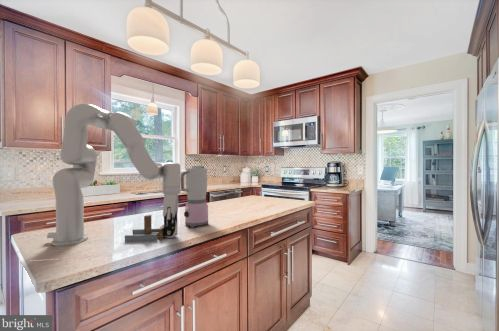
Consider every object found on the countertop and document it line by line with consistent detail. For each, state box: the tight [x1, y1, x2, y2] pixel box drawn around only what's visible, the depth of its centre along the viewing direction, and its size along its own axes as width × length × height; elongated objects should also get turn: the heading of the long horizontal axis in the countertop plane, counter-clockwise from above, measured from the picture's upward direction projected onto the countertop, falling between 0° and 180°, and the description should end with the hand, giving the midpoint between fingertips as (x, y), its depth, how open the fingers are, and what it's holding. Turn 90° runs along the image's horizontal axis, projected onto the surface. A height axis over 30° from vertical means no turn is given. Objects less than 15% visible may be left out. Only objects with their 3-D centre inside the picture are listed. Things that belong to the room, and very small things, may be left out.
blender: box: [180, 165, 209, 229], centre depth 127 cm, size 16×12×32 cm
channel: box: [124, 228, 159, 243], centre depth 105 cm, size 13×10×3 cm
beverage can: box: [163, 212, 178, 239], centre depth 107 cm, size 6×6×12 cm
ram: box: [143, 214, 166, 241], centre depth 106 cm, size 8×7×10 cm
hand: (171, 230), depth 107 cm, fingers closed on beverage can, 3 cm apart
